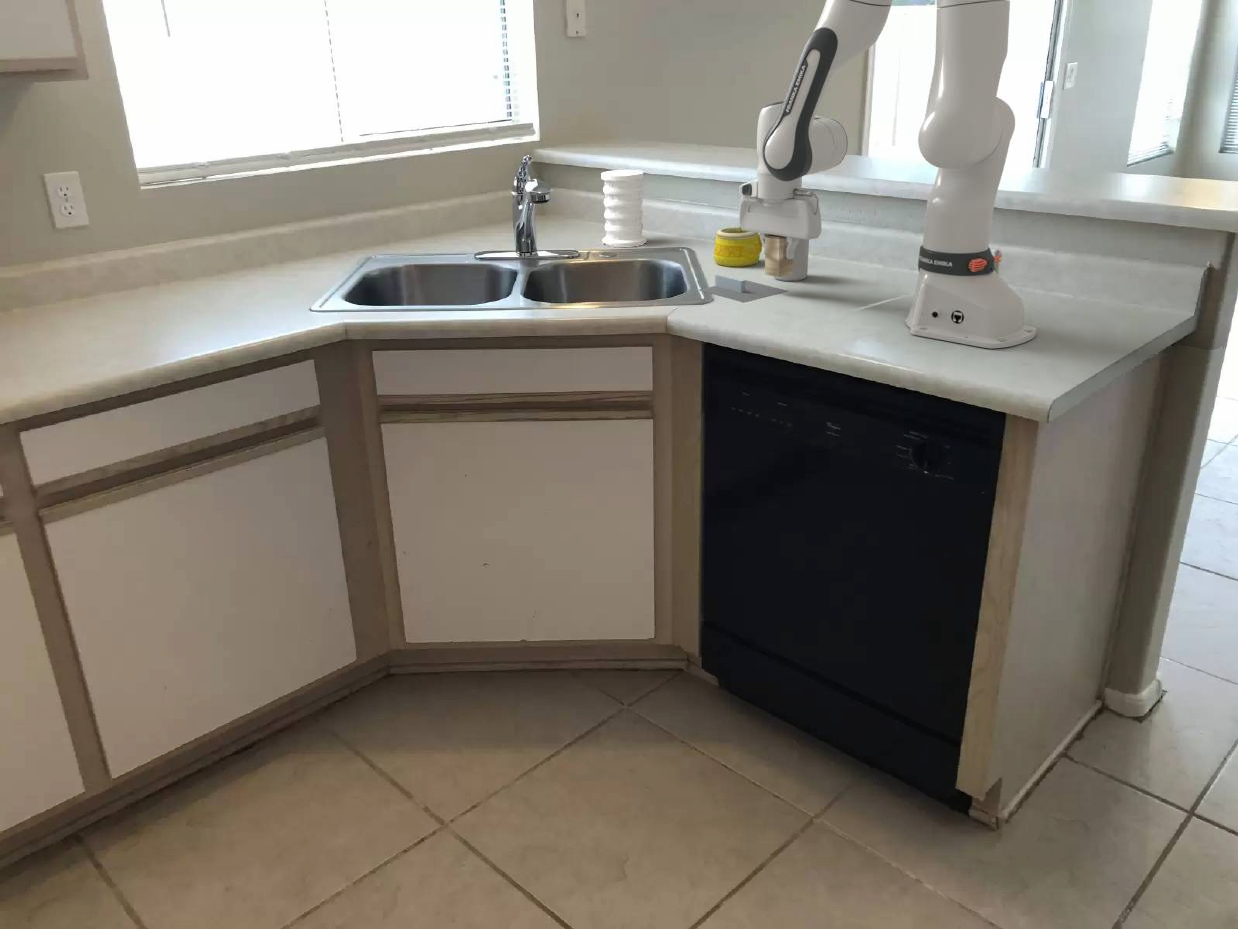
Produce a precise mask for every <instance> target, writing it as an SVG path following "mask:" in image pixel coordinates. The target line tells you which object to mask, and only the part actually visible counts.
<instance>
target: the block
mask: <svg viewBox="0 0 1238 929" xmlns="http://www.w3.org/2000/svg"><path fill="white" fill-rule="evenodd" d="M788 244H789V242H787V237H784V236H777V235H765V255H764V275H767V276H771V277H773V276H775V277H782V276H786V275H790V274H793V259H784V258H783V250H786V249H787V246H788Z"/></svg>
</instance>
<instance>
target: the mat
mask: <svg viewBox="0 0 1238 929" xmlns="http://www.w3.org/2000/svg"><path fill="white" fill-rule="evenodd" d="M744 280H745V292H742V293H740V292H737V291H733V290H729V289H725V288H721V287H718V286H715V285H713V286H710V287H705V288H701V289H698V291H699V292H704V293H708V294H711V295H714V296H717V297H722V298H725V299H729V300H732V301H737V302H740V303H744V304H745V303H749V302H752V301H756V300H760V299H763V298H768V297H771V296H776V295H780V294H783V293H787V292H789V290H787V289H783V288H779V287H775V286H771V285H766V284H762V283H758V282H754V281H750V280H746V279H744Z"/></svg>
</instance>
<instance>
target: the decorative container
mask: <svg viewBox="0 0 1238 929" xmlns="http://www.w3.org/2000/svg"><path fill="white" fill-rule="evenodd" d="M600 176H601V177H600V179H601V180H603V181H604V182H603V183H604V186H603V188H602V192H603V193H604V199H603V205H604V208H605V211H604V213H603V215H604V219H605V225H604V230H605V233H606V235H605V237H603V238H602V244H603V243H606V244H609V245H614V246H636V245H641V244H644V243H646V244H647V237H646V236H645V235H643V229H644V223H643V220H642V219H643V216H644V213H643V212H644V211H643V209H642V205H643V201H644V200H643V198H642V192H643V185H642V181H641V180H642V179H644V171H642V170H637V169H618V170H617V169H615V170H608V171H603V172H601V174H600ZM644 245H645V244H644Z"/></svg>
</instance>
